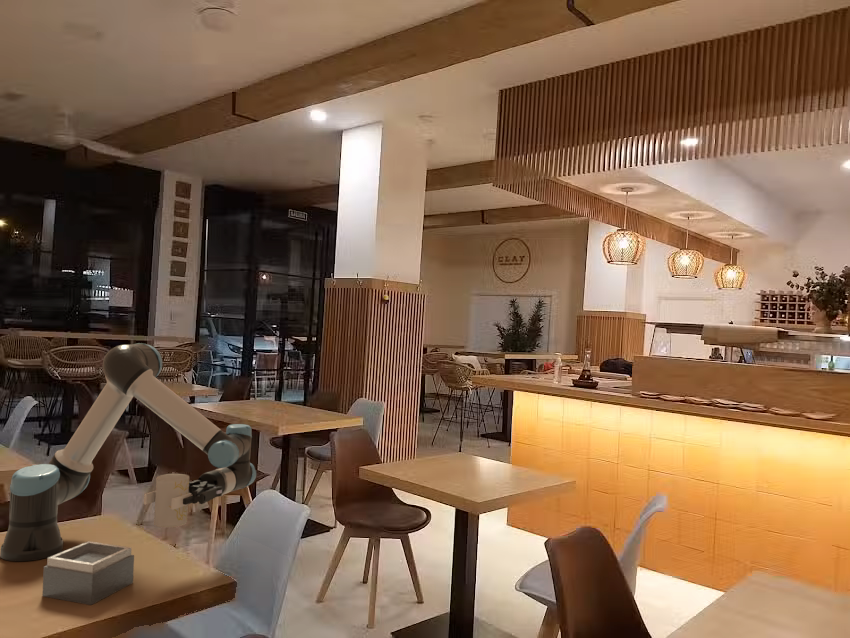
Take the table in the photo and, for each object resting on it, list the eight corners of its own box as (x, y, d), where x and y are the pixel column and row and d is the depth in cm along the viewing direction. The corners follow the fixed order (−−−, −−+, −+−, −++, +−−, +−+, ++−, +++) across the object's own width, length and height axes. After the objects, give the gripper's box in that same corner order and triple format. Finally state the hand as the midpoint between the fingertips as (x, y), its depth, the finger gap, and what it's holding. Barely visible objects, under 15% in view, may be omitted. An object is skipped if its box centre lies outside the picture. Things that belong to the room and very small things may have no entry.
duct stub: (42, 596, 156) (44, 558, 156) (87, 575, 170) (88, 540, 170) (91, 604, 152) (92, 566, 152) (132, 582, 166) (134, 547, 166)
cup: (175, 529, 168) (178, 482, 168) (147, 525, 169) (149, 479, 170) (192, 520, 176) (195, 475, 176) (165, 516, 177) (168, 472, 178)
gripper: (245, 501, 186) (191, 522, 165) (185, 491, 193) (126, 510, 172) (247, 475, 186) (192, 492, 165) (187, 465, 193) (127, 481, 172)
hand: (158, 501), depth 168 cm, fingers closed on cup, 8 cm apart
